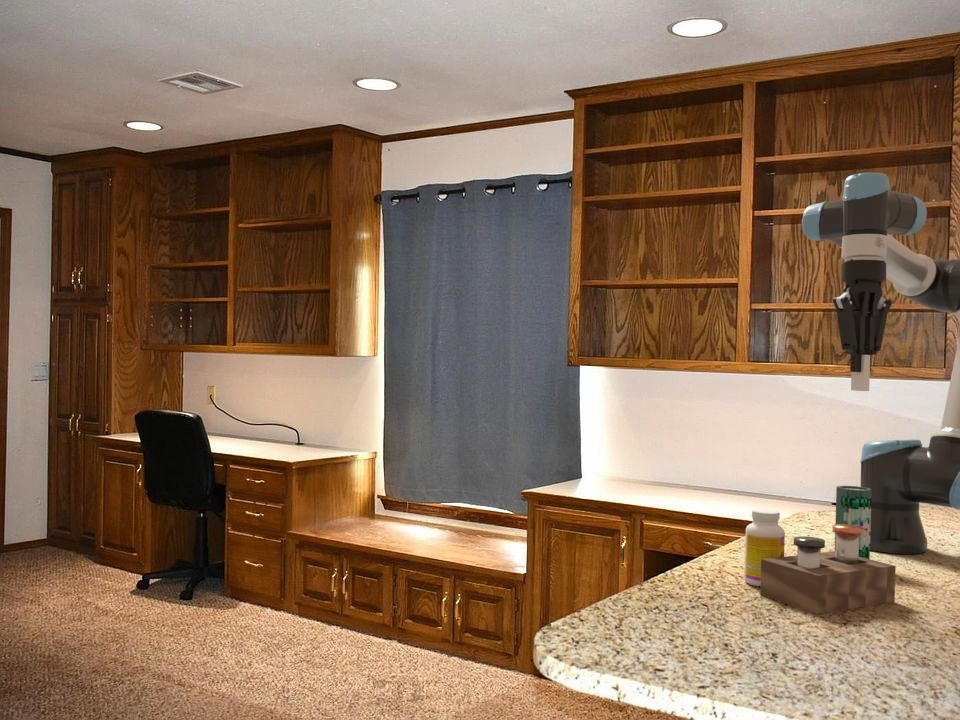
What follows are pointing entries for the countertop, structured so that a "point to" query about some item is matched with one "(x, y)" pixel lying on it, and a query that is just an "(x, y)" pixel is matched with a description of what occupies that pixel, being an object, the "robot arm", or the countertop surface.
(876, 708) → the countertop surface
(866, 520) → the can
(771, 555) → the supplement bottle
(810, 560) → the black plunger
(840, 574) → the wooden holder block
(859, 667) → the countertop surface
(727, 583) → the countertop surface
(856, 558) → the rust plunger
